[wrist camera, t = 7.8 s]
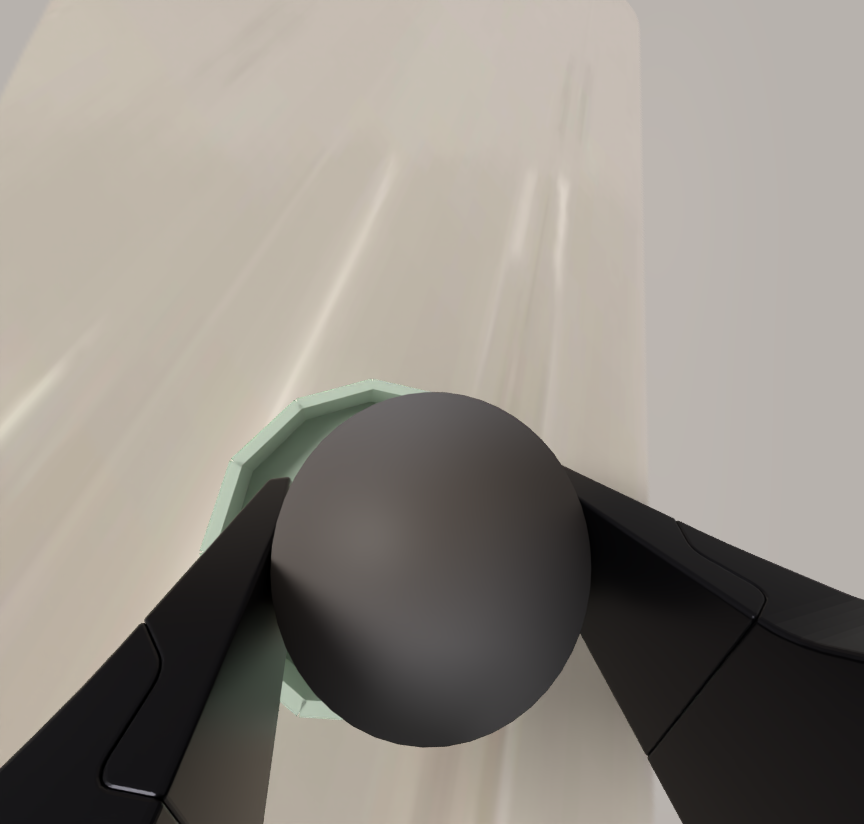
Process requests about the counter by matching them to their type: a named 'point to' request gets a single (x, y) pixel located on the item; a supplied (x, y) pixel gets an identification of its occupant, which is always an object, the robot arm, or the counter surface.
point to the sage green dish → (283, 457)
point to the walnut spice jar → (430, 569)
